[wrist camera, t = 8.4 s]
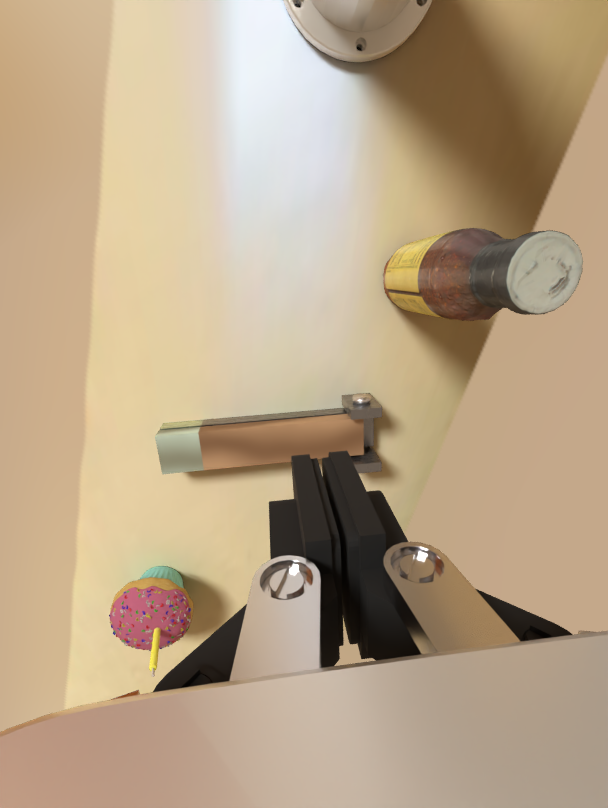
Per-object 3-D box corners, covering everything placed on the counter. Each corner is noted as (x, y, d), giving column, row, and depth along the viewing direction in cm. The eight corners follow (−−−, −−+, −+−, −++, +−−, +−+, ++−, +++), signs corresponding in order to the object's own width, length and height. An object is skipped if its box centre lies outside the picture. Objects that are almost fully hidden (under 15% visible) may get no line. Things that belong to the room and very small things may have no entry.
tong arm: (158, 430, 39) (155, 436, 38) (359, 412, 41) (363, 417, 39) (165, 466, 40) (162, 474, 39) (360, 448, 42) (363, 454, 41)
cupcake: (185, 545, 46) (160, 635, 35) (208, 600, 49) (192, 701, 38) (112, 564, 46) (63, 662, 35) (140, 618, 49) (103, 725, 37)
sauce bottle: (449, 295, 40) (616, 321, 21) (389, 319, 40) (503, 366, 21) (432, 227, 37) (602, 189, 19) (369, 253, 38) (476, 241, 19)
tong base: (160, 404, 40) (148, 421, 36) (370, 387, 42) (382, 401, 38) (172, 475, 43) (163, 498, 39) (369, 456, 45) (381, 476, 40)
